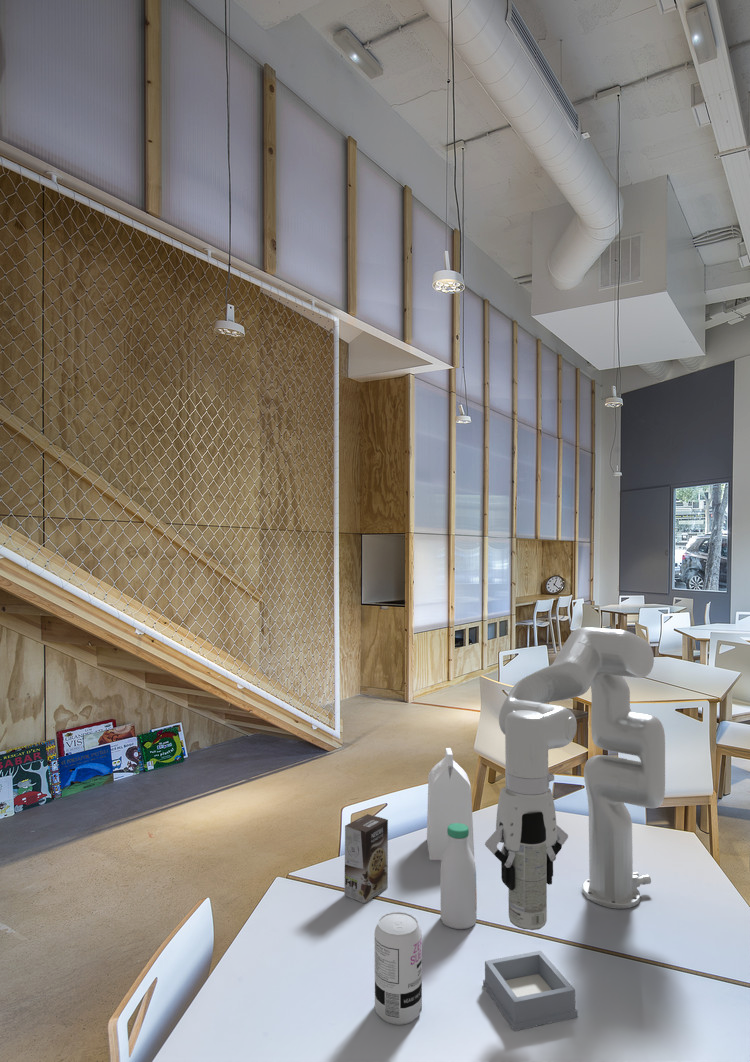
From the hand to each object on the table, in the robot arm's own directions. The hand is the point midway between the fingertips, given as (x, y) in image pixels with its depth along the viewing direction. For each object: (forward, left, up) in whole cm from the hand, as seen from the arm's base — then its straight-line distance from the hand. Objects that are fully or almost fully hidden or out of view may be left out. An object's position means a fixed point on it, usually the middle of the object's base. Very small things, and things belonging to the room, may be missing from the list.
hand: (527, 882), depth 118 cm
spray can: (0, 0, -7) cm, 7 cm away
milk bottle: (+2, -27, -21) cm, 34 cm away
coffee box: (+18, -44, -21) cm, 52 cm away
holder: (0, 0, -21) cm, 21 cm away
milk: (-9, -59, -21) cm, 63 cm away
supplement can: (+23, -4, -21) cm, 31 cm away
